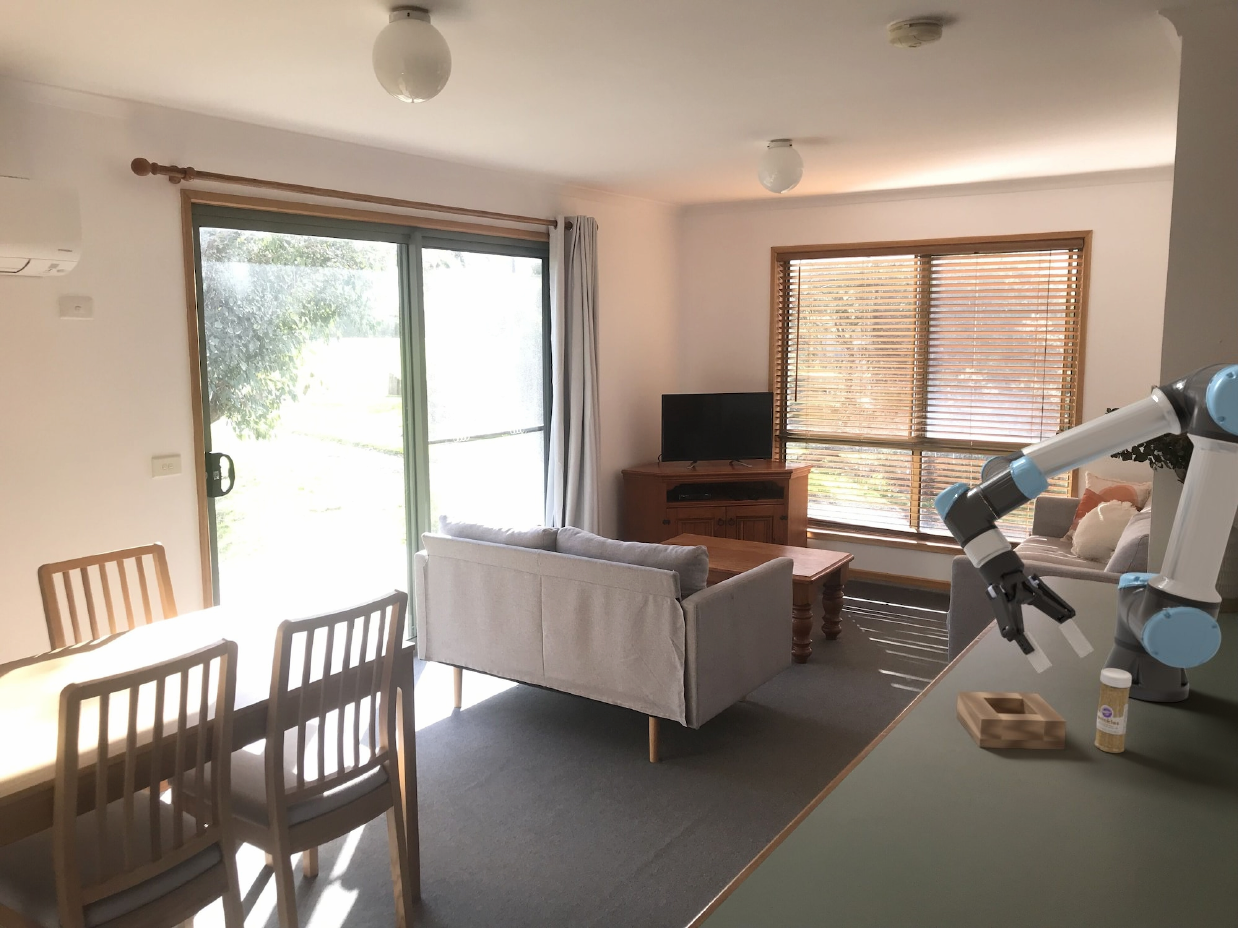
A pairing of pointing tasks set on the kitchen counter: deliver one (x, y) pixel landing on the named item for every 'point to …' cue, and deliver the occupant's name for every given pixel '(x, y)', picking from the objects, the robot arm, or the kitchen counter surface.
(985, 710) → the brown wooden square frame
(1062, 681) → the kitchen counter surface
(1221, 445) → the robot arm
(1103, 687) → the sprinkles bottle
